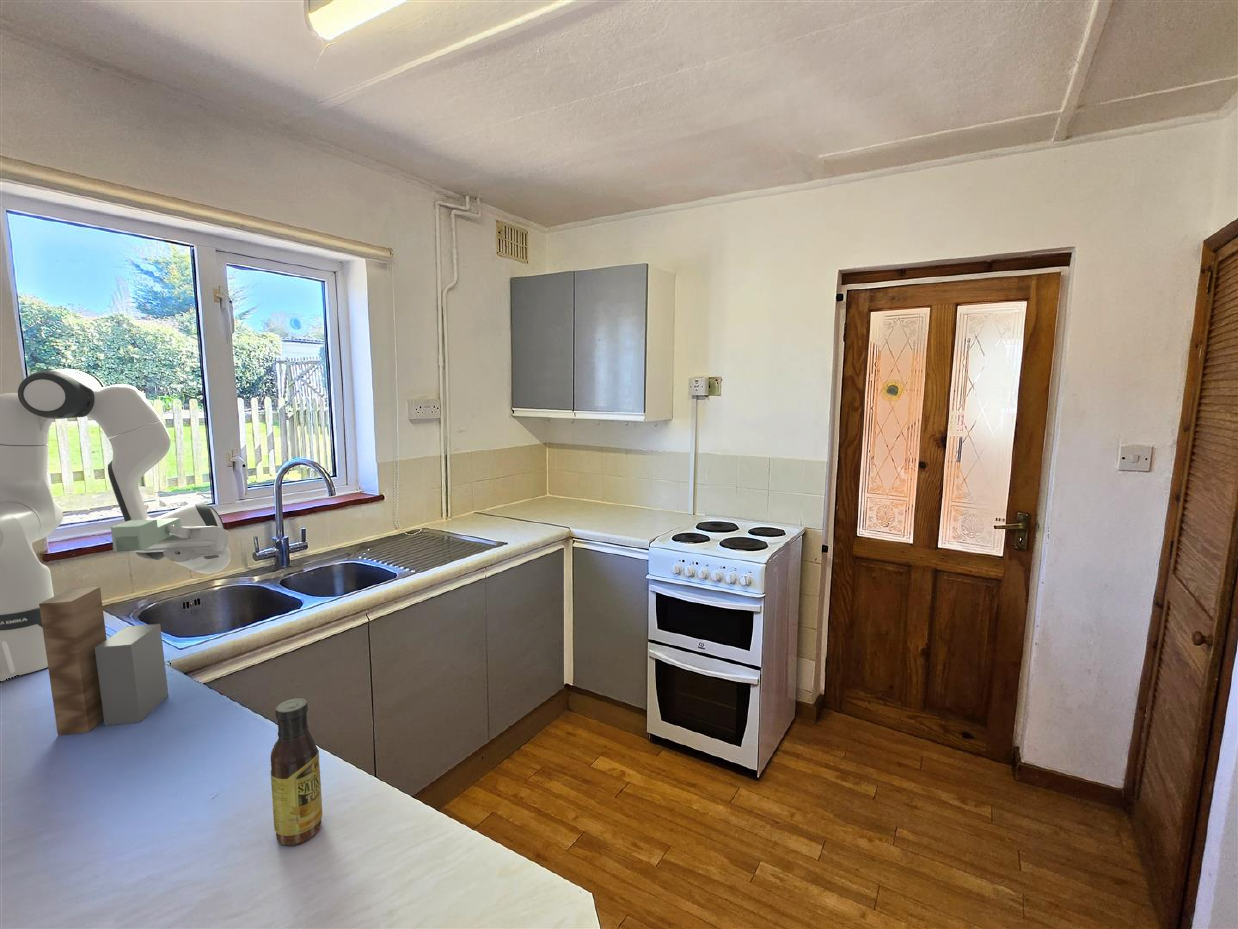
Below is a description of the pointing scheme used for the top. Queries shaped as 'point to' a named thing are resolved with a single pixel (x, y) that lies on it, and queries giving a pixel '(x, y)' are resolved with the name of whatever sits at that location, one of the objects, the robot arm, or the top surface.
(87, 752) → the top surface
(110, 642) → the gray block
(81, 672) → the walnut stand
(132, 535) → the green handle
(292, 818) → the sauce bottle
